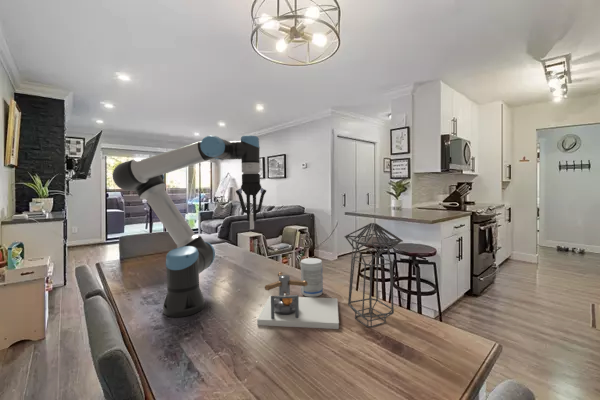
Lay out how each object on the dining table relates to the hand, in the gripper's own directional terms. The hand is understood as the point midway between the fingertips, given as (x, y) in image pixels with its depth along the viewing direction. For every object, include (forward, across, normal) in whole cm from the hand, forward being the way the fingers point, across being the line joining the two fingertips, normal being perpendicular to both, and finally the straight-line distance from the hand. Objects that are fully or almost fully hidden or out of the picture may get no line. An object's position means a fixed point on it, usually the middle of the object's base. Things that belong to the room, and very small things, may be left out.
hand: (252, 228), depth 121 cm
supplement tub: (+30, +26, +1) cm, 39 cm away
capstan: (+27, +13, -16) cm, 34 cm away
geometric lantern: (+30, +44, -24) cm, 59 cm away
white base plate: (+29, +19, -18) cm, 39 cm away
